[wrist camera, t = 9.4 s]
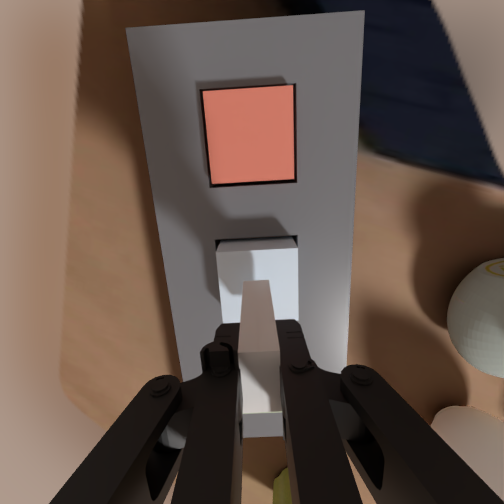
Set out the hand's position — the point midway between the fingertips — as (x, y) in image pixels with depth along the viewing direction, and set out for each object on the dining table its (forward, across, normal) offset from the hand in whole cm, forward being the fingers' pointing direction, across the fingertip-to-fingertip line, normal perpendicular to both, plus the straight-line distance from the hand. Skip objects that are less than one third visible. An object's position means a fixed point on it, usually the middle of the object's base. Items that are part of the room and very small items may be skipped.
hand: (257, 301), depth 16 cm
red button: (+6, 0, +9) cm, 11 cm away
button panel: (+7, 0, 0) cm, 7 cm away
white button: (+4, 0, 0) cm, 4 cm away
